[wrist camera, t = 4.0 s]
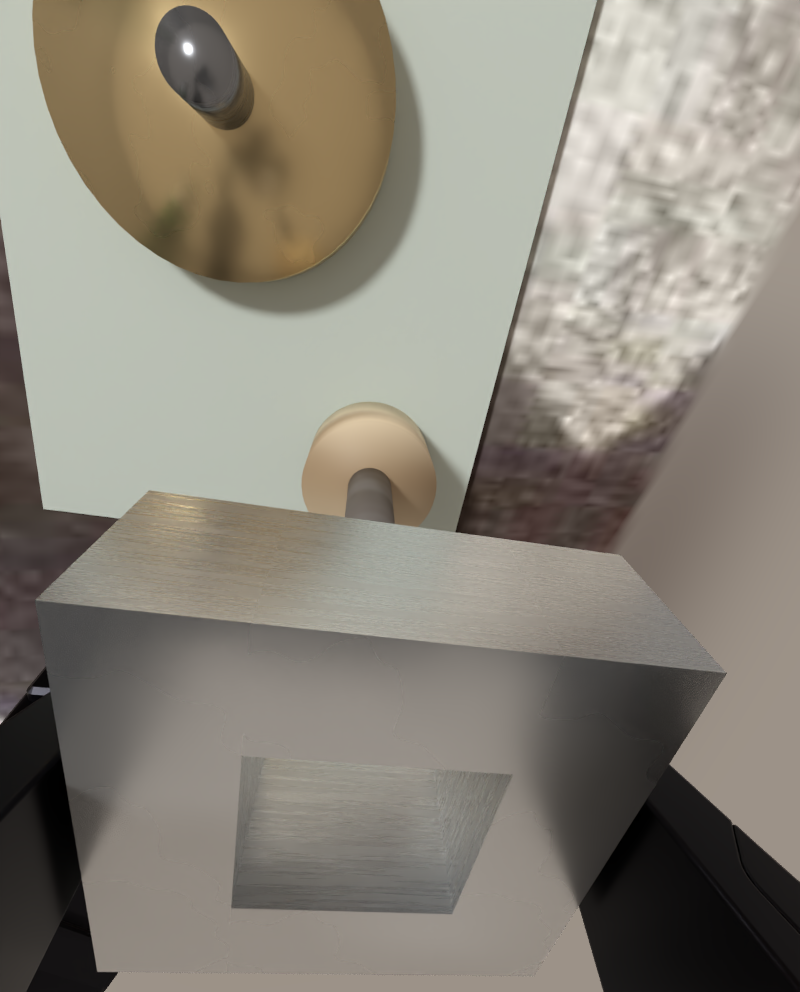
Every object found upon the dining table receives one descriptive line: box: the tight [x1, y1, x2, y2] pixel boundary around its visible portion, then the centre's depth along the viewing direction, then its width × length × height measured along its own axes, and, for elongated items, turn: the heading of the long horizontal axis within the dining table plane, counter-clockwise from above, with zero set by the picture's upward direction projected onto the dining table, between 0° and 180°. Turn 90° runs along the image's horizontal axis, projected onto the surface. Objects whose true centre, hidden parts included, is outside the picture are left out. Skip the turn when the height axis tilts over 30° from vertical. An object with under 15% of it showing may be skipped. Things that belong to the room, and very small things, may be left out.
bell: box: [32, 0, 396, 283], centre depth 13 cm, size 10×10×4 cm
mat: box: [0, 0, 597, 532], centre depth 17 cm, size 21×18×1 cm
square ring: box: [35, 490, 727, 976], centre depth 7 cm, size 7×7×2 cm
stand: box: [301, 402, 437, 527], centre depth 17 cm, size 5×5×7 cm
